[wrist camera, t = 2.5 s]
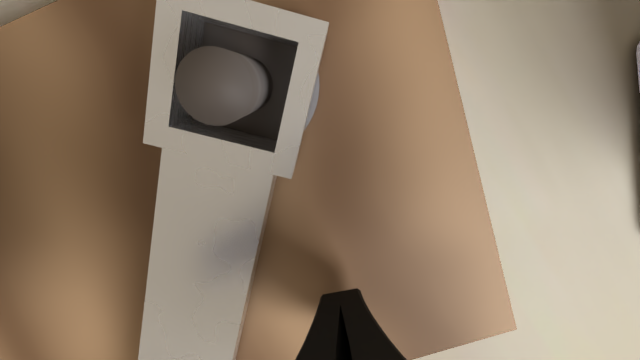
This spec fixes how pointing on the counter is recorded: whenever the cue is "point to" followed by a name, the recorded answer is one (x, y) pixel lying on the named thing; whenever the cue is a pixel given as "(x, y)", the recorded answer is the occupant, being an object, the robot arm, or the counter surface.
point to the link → (214, 182)
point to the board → (289, 194)
